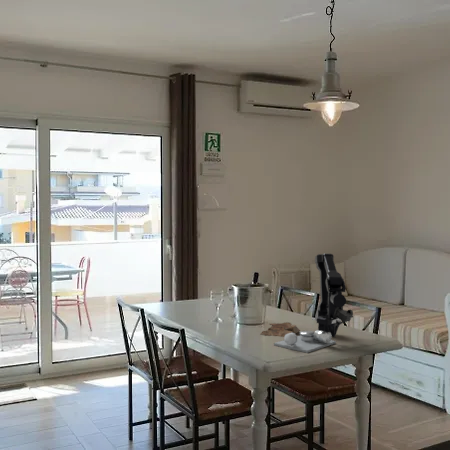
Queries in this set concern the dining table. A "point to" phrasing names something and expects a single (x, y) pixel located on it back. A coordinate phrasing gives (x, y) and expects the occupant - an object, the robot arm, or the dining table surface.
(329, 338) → the elbow
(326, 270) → the robot arm
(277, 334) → the fossil
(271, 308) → the dining table surface
